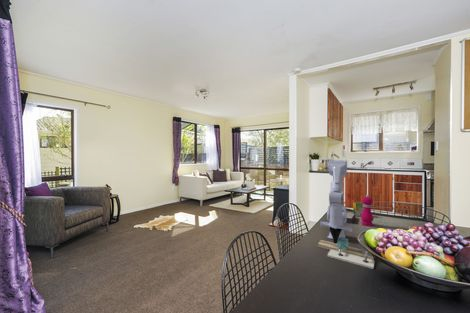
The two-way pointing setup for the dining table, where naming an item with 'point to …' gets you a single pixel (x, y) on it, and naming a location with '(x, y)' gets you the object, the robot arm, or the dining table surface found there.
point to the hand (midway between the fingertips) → (335, 242)
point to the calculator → (350, 218)
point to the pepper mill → (367, 211)
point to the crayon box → (358, 208)
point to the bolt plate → (351, 258)
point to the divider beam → (349, 250)
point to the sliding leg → (342, 244)
